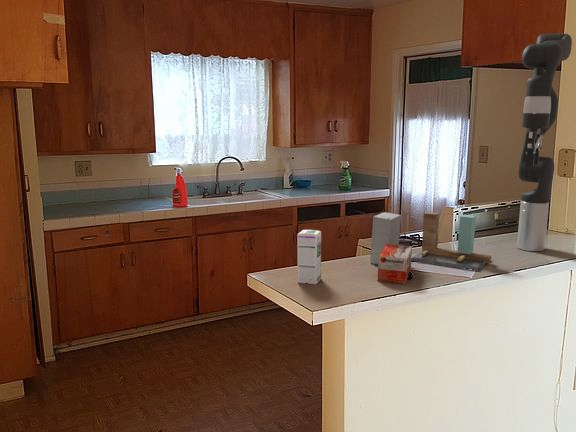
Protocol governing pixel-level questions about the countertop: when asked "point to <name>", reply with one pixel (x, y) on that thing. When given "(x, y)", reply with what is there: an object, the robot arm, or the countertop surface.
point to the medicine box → (394, 263)
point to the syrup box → (309, 256)
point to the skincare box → (384, 233)
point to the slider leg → (466, 235)
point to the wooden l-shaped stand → (432, 240)
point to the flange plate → (448, 261)
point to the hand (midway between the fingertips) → (531, 165)
